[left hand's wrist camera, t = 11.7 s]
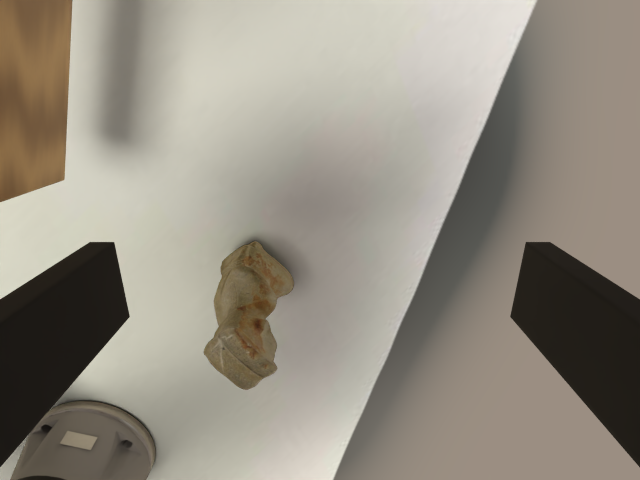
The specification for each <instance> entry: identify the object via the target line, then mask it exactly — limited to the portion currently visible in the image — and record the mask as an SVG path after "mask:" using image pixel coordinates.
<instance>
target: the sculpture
mask: <svg viewBox="0 0 640 480" xmlns="http://www.w3.org/2000/svg"><path fill="white" fill-rule="evenodd" d="M221 274H222V279H221V281H220V283H219V286H218V289H217V292H216V295H215V298H214V307H215V312H216V317H217V321H218V325H219V327H218V329H217V331H216V333H215V335H214V338H213V339H212V340H211V341H210V342H208V344H207V345H206V347H205V349H204V355H206V357H207V358H208V360H209V362H210V363H211V364H212V365H213V366H214V367H215V368H216V369H217V370H218V371H219V372H220V373H222V374H223V375H224V376H226V377H227V378H228V379H229V380H230V381H232V382H233V383H234V384H235V385H236V386H238V387H240V388H242V389H245V390H248V389H250V388H252V387H255V386H256V385H257V384H258V383H259V382H260V380H262V379H263V378H265V377H267V376H269V375H271V374H273V373H274V372H275V371H276V370H277V366H276V365H275V363H274V362H273V361H274V356H275V351H276V348H277V344H276V341H275V339H274V336H273V334H272V333H271V329H270V325H269V322H268V321H267V320H265V319H266V317H267V316H268V315H269V314H270V313H272V311H273V310H274V309H275V307H276V304H277V298H278V297H281V296H284V295H287V294H288V293H290V292H291V291H292V289H293V286H294V282H293V278H292V276H291V274H290V273H289V272H288V270H287V269H286V268H285V267H284V266H282V265H281V264H280V263H279V262H278V261H277V260H275V259H274V258H273V257H271V256H270V255H269V254H268V253H267V252H266V251H265V250H264V249H263V247H262V245H261V244H260V243H258V242H256V241H254V242H252V243H250V244H248V245H244V246H242V247H240V248H239V249H237V250H236V251H234V252H233V253H231V254H230V255H229V256H228V257H227V258H226V259H224V261H223V262H222V266H221Z"/></svg>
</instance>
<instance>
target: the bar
mask: <svg viewBox="0 0 640 480" xmlns="http://www.w3.org/2000/svg"><path fill="white" fill-rule="evenodd" d="M71 18H72V0H0V202H2V201H5V200H8V199H11V198H14V197H17V196H19V195H22V194H25V193H28V192H31V191H34V190H37V189H40V188H42V187H45V186H48V185H51V184H54V183H57V182H60V181H62V180H64V178H65V155H66V132H67V110H68V87H69V64H70V41H71Z"/></svg>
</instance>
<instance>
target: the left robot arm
mask: <svg viewBox="0 0 640 480" xmlns="http://www.w3.org/2000/svg"><path fill="white" fill-rule="evenodd" d="M129 317H130V316H129V311H128V307H127V302H126V297H125V292H124V287H123V283H122V278H121V273H120V268H119V263H118V259H117V254H116V249H115V244H114V242H90V243H88V244H86V245H85V246H83V247H82V248H80V249H79V250H77V251H75V252H74V253H72V254H71V255H69V256H68V257H66V258H64V259H63V260H61V261H60V262H58V263H57V264H55V265H54V266H52V267H50V268H49V269H47V270H46V271H44V272H43V273H41V274H39V275H38V276H36V277H35V278H33V279H32V280H30V281H28V282H27V283H25V284H24V285H22V286H21V287H19V288H18V289H16V290H14V291H13V292H11V293H10V294H8V295H7V296H5V297H3V298H2V299H0V467H1V466H2V465H3V463H4V462H5V461H6V460H7V459H8V458H9V456H10V455H11V454H12V453H13V452H14V451H15V449H16V448H17V447H18V446H19V445H20V444H21V442H22V441H23V440H24V439H25V438H26V437H27V435H28V434H29V433H30V432H31V433H30V435H29V437H28V439H27V441H26V443H25V446H24V448H23V450H22V453H21V455H20V458H19V460H18V462H17V465H16V467H15V470H14V472H13V474H12V477H11V479H10V480H146V479H147V477H148V475H149V472H150V470H151V468H152V466H153V463H154V460H155V446H154V442H153V440H152V438H151V436H150V434H149V432H148V431H147V430H146V428H145V427H144V426H143V425H142V424H141V423H140V422H139V421H138V420H137V419H135V418H134V417H133V416H131V415H130V414H128V413H126V412H125V411H123V410H121V409H118V408H116V407H113V406H111V405H107V404H104V403H99V402H92V401H75V402H69V403H65V404H62V405H59V406H57V407H55V408H53V409H51V408H52V406H53V405H54V404H55V403H56V402H57V401H58V399H59V398H60V397H61V396H62V395H63V394H64V392H65V391H66V390H67V389H68V388H69V387H70V385H71V384H72V383H73V382H74V381H75V380H76V378H77V377H78V376H79V375H80V374H81V373H82V372H83V370H84V369H85V368H86V367H87V366H88V365H89V363H90V362H91V361H92V360H93V359H94V358H95V356H96V355H97V354H98V353H99V352H100V351H101V349H102V348H103V347H104V346H105V345H106V344H107V342H108V341H109V340H110V339H111V338H112V337H113V335H114V334H115V333H116V332H117V331H118V330H119V328H120V327H121V326H122V325H123V324H124V323H125V322H126V320H127V319H128V318H129ZM511 318H512V319H513V320H514V322H515V323H516V324H517V325H518V326H519V327H520V328H521V330H522V331H523V332H524V333H525V334H526V335H527V337H528V338H529V339H530V340H531V341H532V342H533V344H534V345H535V346H536V347H537V348H538V349H539V351H540V352H541V353H542V354H543V355H544V356H545V358H546V359H547V360H548V361H549V362H550V363H551V365H552V366H553V367H554V368H555V369H556V370H557V371H558V373H559V374H560V375H561V376H562V377H563V378H564V380H565V381H566V382H567V383H568V384H569V385H570V387H571V388H572V389H573V390H574V391H575V392H576V394H577V395H578V396H579V397H580V398H581V399H582V401H583V402H584V403H585V404H586V405H587V406H588V408H589V409H590V410H591V411H592V412H593V413H594V415H595V416H596V417H597V418H598V419H599V420H600V422H601V423H602V424H603V425H604V426H605V427H606V428H607V430H608V431H609V432H610V433H611V434H612V435H613V437H614V438H615V439H616V440H617V441H618V442H619V444H620V445H621V446H622V447H623V448H624V449H625V451H626V452H627V453H628V454H629V455H630V456H631V458H632V459H633V460H634V461H635V462H636V463H637V465H638V466H639V467H640V299H638V298H637V297H635V296H633V295H632V294H630V293H629V292H627V291H626V290H624V289H622V288H621V287H619V286H618V285H616V284H615V283H613V282H612V281H610V280H608V279H607V278H605V277H604V276H602V275H601V274H599V273H597V272H596V271H594V270H593V269H591V268H590V267H588V266H586V265H585V264H583V263H582V262H580V261H579V260H577V259H576V258H574V257H572V256H571V255H569V254H568V253H566V252H565V251H563V250H561V249H560V248H558V247H557V246H555V245H554V244H552V243H550V242H526V244H525V249H524V254H523V259H522V263H521V268H520V273H519V278H518V283H517V288H516V292H515V297H514V302H513V307H512V311H511ZM50 409H51V410H50ZM49 410H50V411H49Z"/></svg>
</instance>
